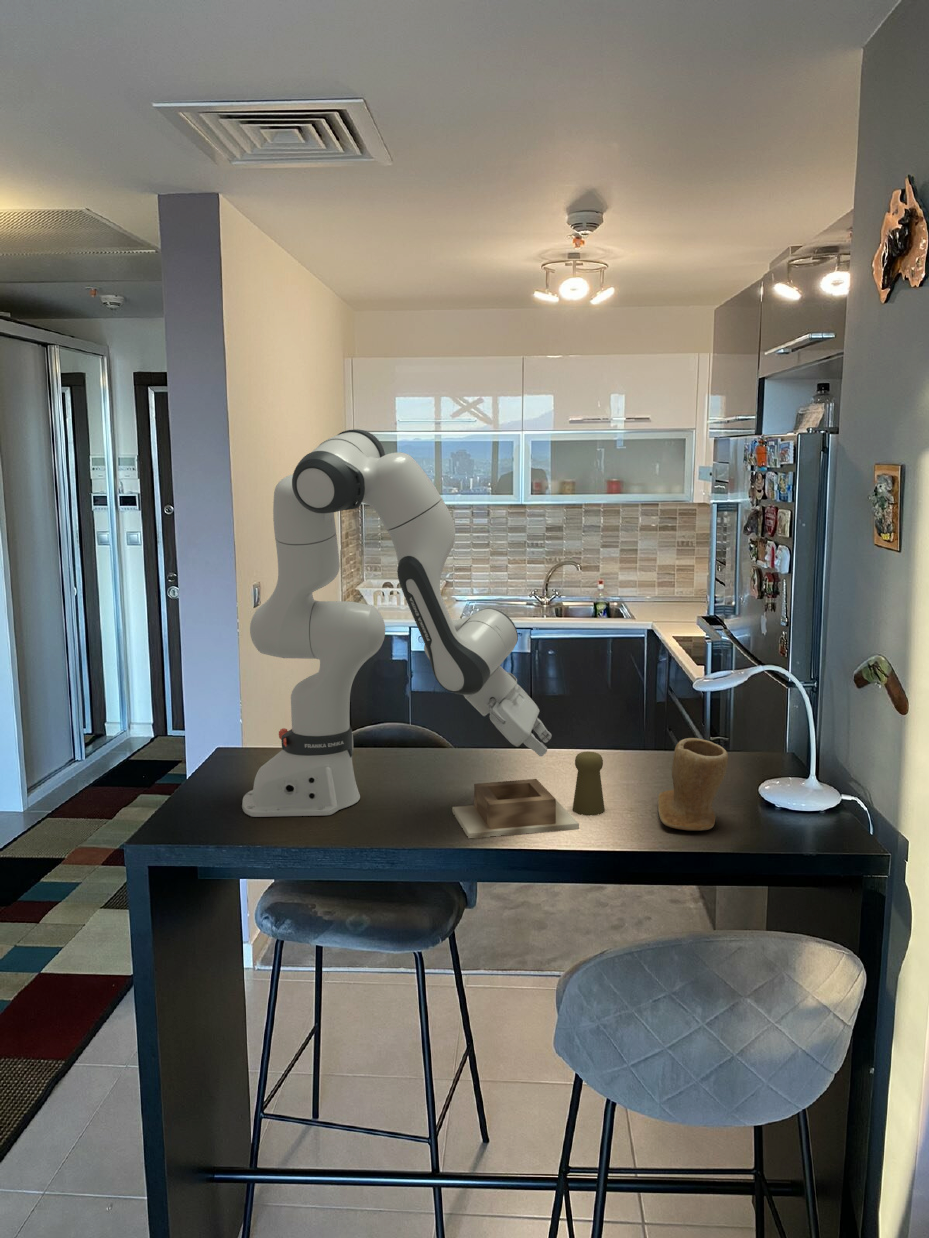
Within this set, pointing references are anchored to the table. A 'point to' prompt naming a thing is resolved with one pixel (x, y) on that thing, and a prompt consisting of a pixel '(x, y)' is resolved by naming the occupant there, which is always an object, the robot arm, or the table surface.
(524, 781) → the cruet stand
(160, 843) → the table surface
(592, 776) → the cork
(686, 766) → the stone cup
